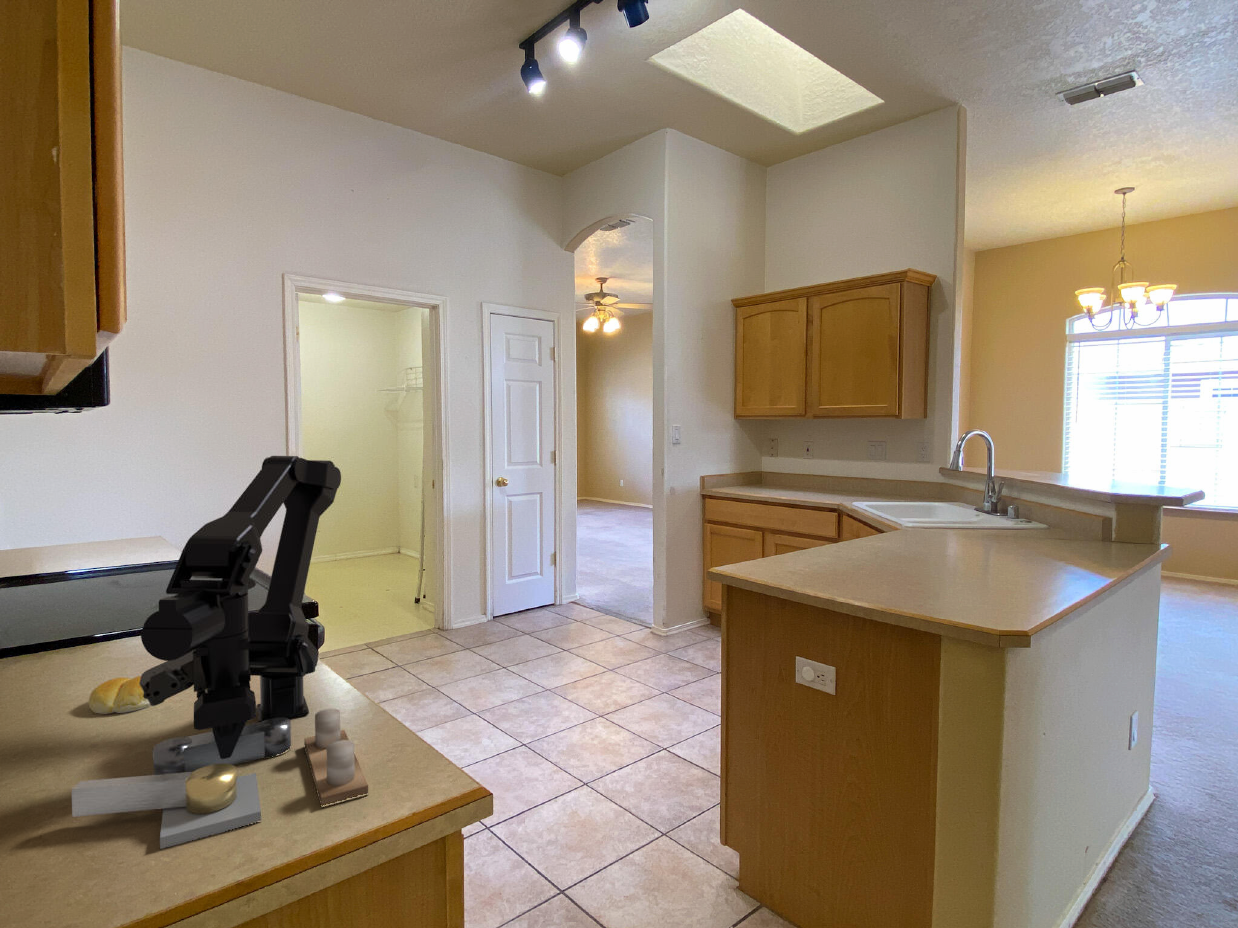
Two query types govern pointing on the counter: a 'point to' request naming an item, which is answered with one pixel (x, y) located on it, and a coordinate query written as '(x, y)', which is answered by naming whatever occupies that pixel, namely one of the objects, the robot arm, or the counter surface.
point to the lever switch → (158, 792)
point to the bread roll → (118, 696)
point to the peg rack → (333, 760)
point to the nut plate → (212, 816)
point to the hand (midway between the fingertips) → (225, 751)
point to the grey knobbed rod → (204, 751)
